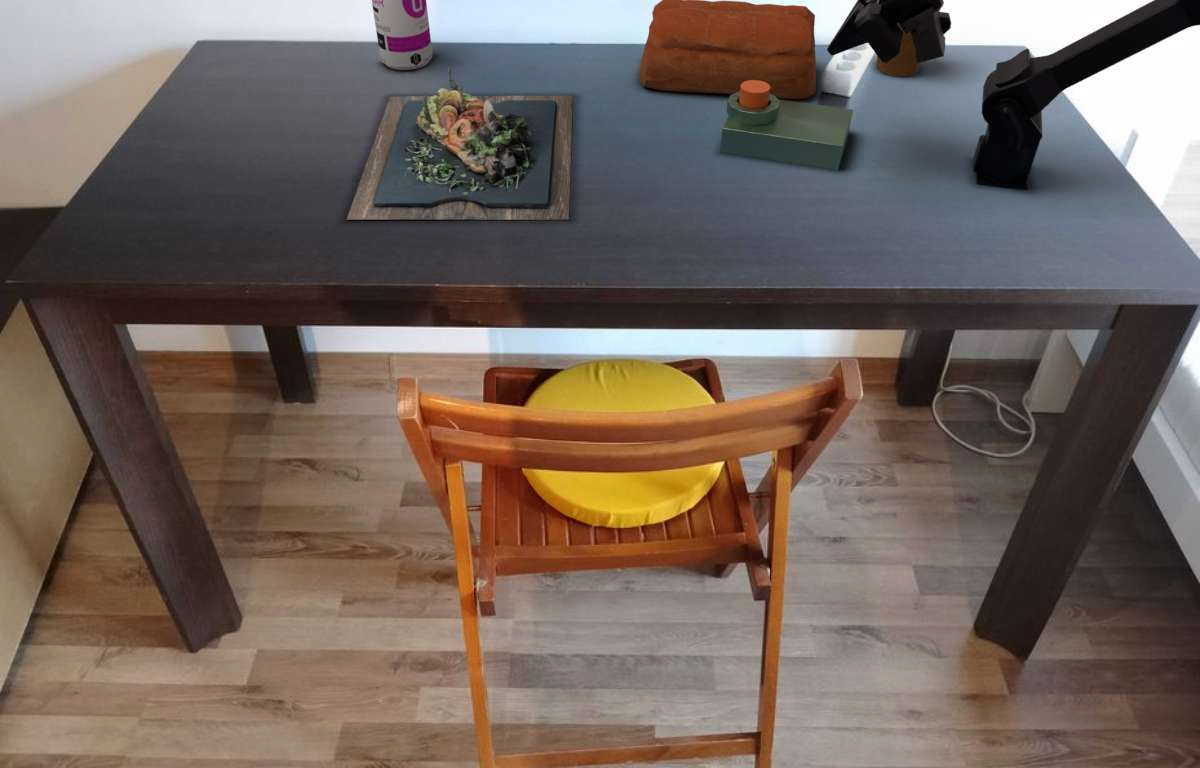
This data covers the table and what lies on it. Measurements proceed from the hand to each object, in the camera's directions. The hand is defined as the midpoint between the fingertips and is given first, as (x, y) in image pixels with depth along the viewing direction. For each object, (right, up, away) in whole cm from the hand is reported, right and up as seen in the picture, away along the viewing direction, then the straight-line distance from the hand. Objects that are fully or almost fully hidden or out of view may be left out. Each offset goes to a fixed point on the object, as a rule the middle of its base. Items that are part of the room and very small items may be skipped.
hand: (829, 51), depth 126 cm
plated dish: (-47, -11, +8) cm, 49 cm away
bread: (-10, +5, +26) cm, 28 cm away
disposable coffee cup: (+17, +7, +29) cm, 34 cm away
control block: (-4, -9, +10) cm, 14 cm away
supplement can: (-60, +9, +31) cm, 68 cm away
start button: (-9, -4, +8) cm, 12 cm away
